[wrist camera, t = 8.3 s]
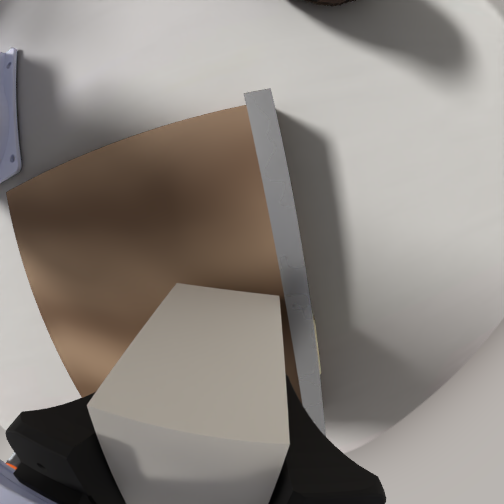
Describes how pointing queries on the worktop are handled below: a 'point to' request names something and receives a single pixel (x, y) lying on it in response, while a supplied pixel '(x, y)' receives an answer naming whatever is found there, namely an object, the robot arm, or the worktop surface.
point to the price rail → (287, 248)
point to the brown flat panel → (145, 235)
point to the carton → (198, 401)
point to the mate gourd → (329, 2)
